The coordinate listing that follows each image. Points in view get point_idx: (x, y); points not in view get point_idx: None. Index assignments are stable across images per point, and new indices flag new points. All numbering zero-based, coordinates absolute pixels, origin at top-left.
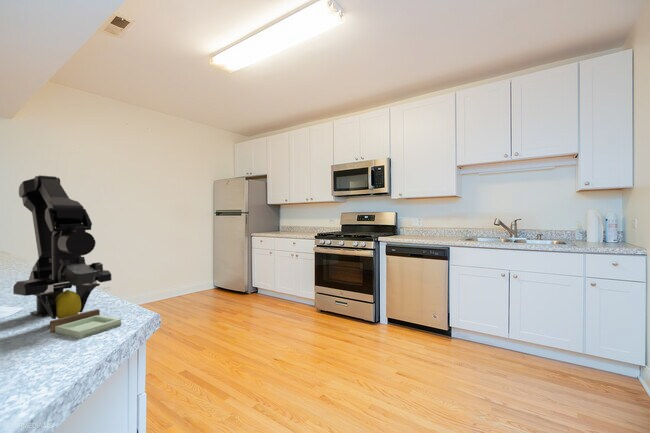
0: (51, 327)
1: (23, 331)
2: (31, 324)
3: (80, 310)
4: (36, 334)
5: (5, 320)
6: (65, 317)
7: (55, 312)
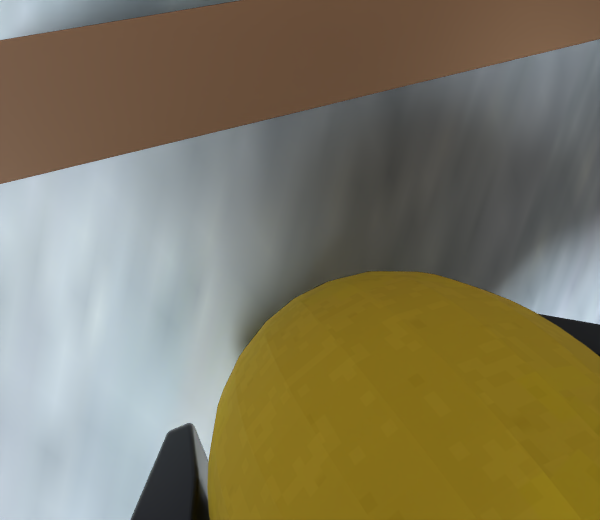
0: None
1: (578, 288)
2: None
3: (197, 441)
4: (595, 87)
5: None
6: (517, 36)
7: None
